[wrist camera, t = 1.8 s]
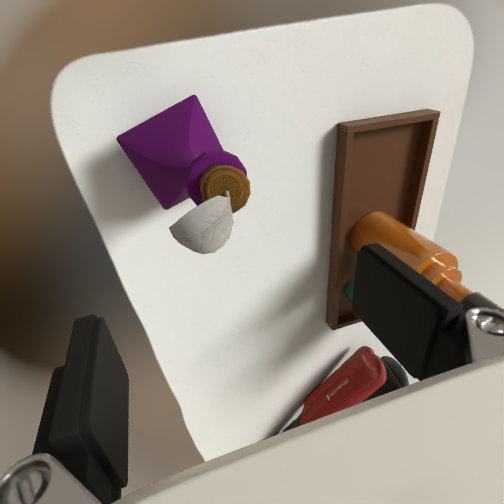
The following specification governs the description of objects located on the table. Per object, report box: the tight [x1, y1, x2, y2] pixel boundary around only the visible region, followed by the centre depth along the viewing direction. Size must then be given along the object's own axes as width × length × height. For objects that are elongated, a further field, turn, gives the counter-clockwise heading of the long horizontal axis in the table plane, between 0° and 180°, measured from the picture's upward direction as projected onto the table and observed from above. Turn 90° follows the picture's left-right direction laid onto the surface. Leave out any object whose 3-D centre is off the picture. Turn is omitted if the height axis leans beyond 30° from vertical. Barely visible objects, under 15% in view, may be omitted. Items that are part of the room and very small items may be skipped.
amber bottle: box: [351, 211, 504, 313], centre depth 36 cm, size 6×6×18 cm
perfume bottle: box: [116, 95, 250, 254], centre depth 24 cm, size 8×8×18 cm
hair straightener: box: [281, 346, 409, 433], centre depth 61 cm, size 16×40×8 cm, turn 144°
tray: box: [326, 109, 440, 330], centre depth 43 cm, size 30×12×2 cm, turn 4°
